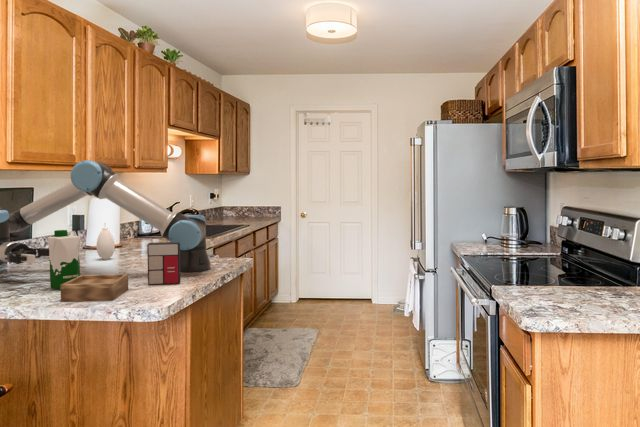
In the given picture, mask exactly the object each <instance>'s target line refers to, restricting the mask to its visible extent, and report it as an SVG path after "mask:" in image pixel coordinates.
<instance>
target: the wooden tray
mask: <svg viewBox="0 0 640 427" xmlns="http://www.w3.org/2000/svg"><path fill="white" fill-rule="evenodd" d="M60 289H61V290H60V302H97V301H98V302H99V301H101V302H102V301H103V302H104V301H105V302H106V301H114V300H116V299H117V298H119V297H120V296H122V295H123V294H124V293H125V292H127V291H128V290H129V274H87V275H85V274H83V275H82V274H80V276H78V277H76V278H74V279H72V280H70V281H68V282H66V283H63V284H61V285H60Z"/></svg>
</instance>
